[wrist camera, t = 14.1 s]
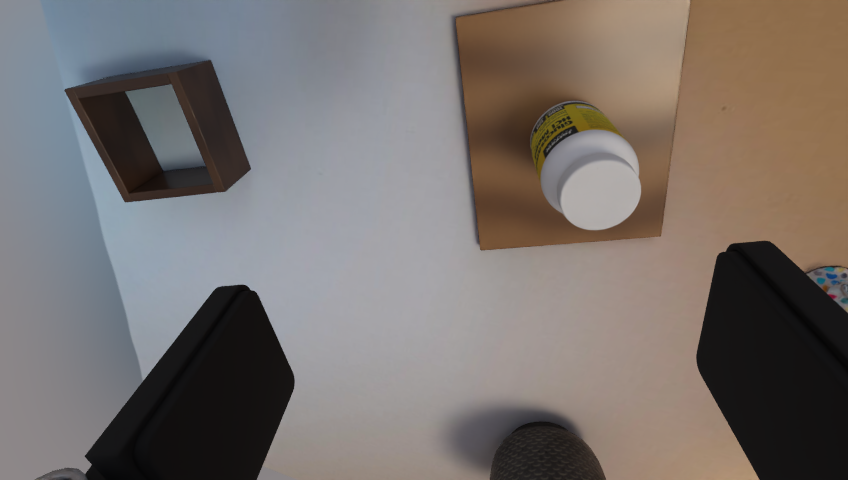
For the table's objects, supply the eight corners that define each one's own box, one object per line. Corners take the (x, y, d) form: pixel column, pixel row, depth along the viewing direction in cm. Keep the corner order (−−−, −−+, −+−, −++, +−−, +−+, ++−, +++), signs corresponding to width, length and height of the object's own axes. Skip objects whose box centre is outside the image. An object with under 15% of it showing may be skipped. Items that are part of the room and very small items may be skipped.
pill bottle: (550, 87, 34) (579, 130, 25) (623, 115, 35) (679, 168, 25) (515, 159, 37) (529, 222, 28) (583, 183, 38) (619, 253, 28)
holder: (109, 76, 38) (63, 89, 34) (211, 59, 37) (176, 71, 32) (159, 180, 43) (124, 202, 39) (251, 169, 41) (225, 191, 37)
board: (455, 16, 33) (455, 18, 32) (687, -22, 31) (694, -22, 30) (480, 245, 43) (480, 250, 42) (657, 231, 40) (661, 236, 40)
